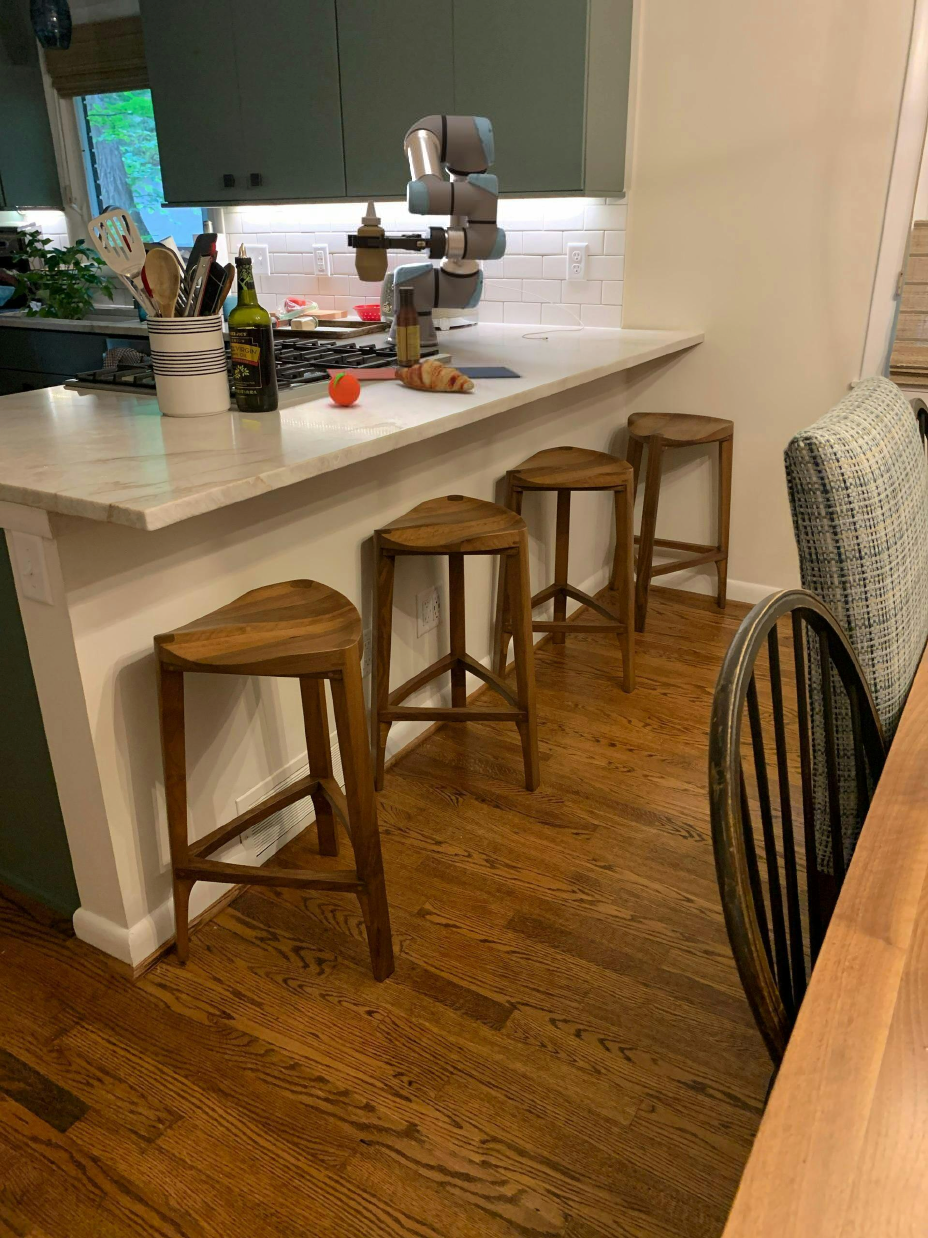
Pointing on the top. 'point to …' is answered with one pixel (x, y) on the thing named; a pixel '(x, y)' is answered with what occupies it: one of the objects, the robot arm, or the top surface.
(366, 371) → the terracotta mat
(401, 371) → the croissant
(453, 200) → the robot arm
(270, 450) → the top surface
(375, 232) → the squeeze bottle
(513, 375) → the slate mat
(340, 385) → the clementine
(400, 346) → the sauce bottle
